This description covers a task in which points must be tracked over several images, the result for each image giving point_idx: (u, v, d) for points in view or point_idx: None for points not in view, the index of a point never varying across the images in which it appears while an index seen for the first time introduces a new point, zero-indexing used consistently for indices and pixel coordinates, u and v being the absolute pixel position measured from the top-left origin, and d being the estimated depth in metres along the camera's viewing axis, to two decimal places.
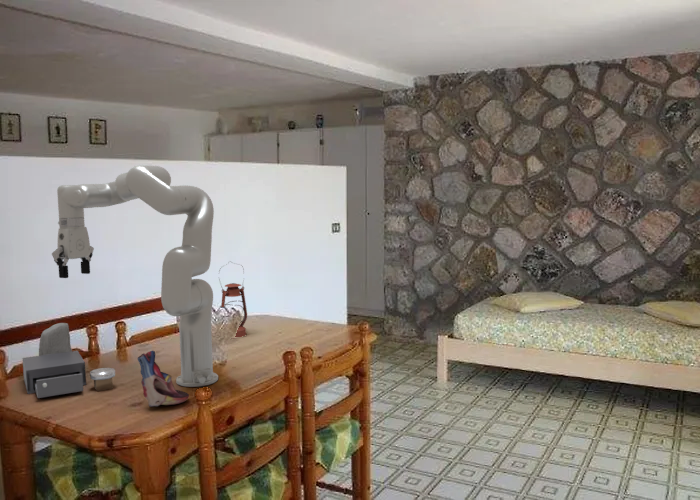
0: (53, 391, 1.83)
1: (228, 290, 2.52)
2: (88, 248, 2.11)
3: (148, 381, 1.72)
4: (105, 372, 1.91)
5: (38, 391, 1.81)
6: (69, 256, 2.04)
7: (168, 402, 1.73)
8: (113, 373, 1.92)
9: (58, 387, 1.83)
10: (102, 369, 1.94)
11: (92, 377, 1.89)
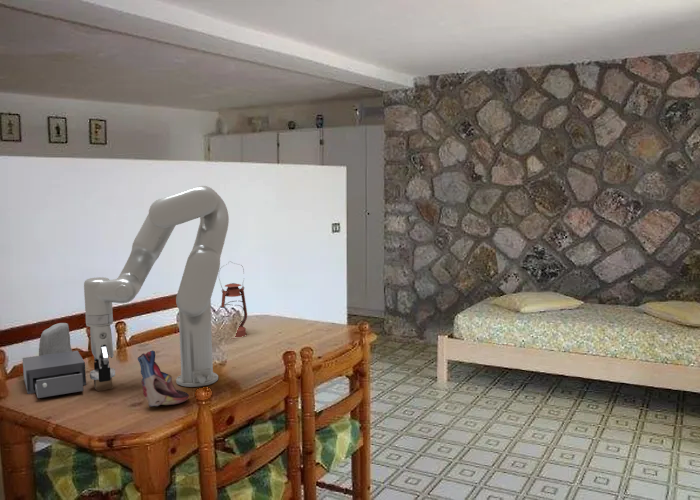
0: (53, 391, 1.83)
1: (228, 290, 2.52)
2: None
3: (148, 381, 1.72)
4: None
5: (38, 391, 1.81)
6: (113, 355, 1.89)
7: (168, 402, 1.73)
8: (113, 373, 1.92)
9: (58, 387, 1.83)
10: None
11: (92, 377, 1.89)
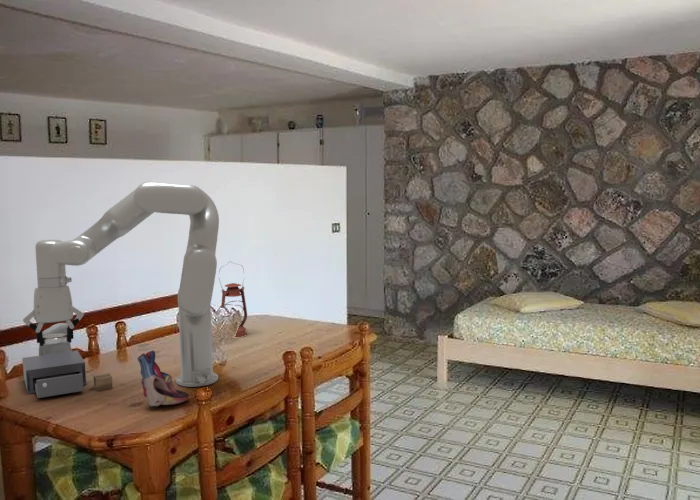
0: (53, 391, 1.83)
1: (228, 290, 2.52)
2: None
3: (148, 381, 1.72)
4: (61, 335, 1.88)
5: (38, 391, 1.81)
6: None
7: (168, 402, 1.73)
8: None
9: (58, 387, 1.83)
10: (47, 336, 1.86)
11: (62, 341, 1.85)
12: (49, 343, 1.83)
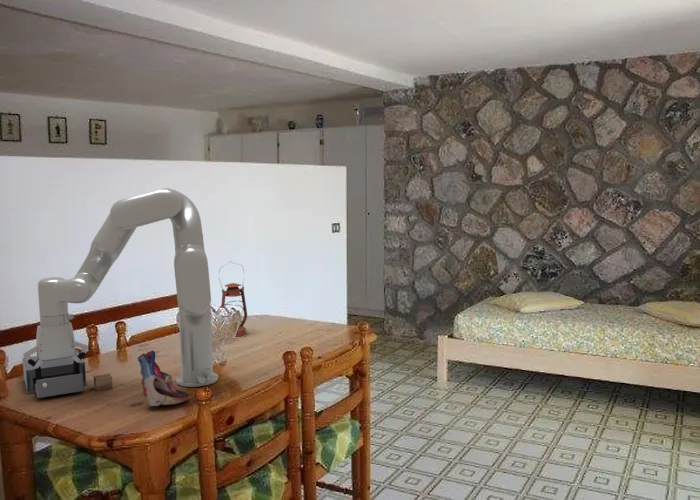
0: (53, 391, 1.83)
1: (228, 290, 2.52)
2: None
3: (148, 381, 1.72)
4: None
5: (38, 391, 1.81)
6: None
7: (168, 402, 1.73)
8: None
9: (58, 387, 1.83)
10: None
11: None
12: None
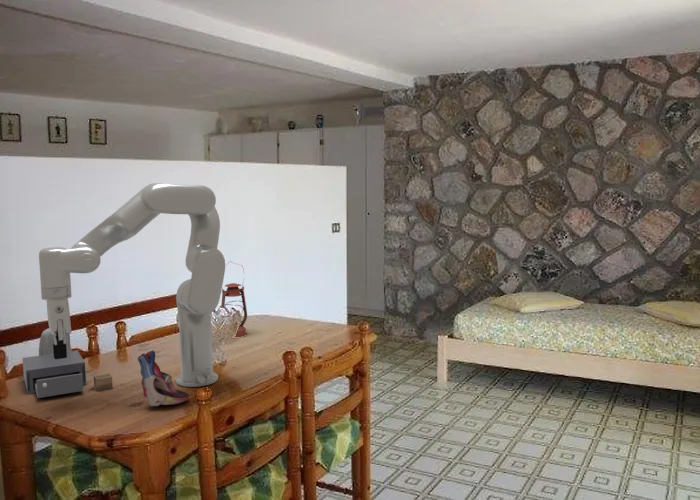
0: (53, 391, 1.83)
1: (228, 290, 2.52)
2: None
3: (148, 381, 1.72)
4: None
5: (38, 391, 1.81)
6: (70, 331, 1.74)
7: (168, 402, 1.73)
8: None
9: (58, 387, 1.83)
10: None
11: None
12: None
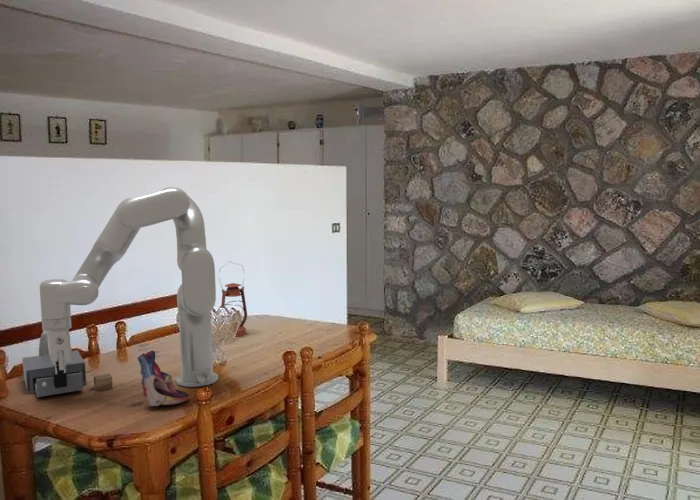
0: (53, 390, 1.84)
1: (228, 290, 2.52)
2: None
3: (148, 381, 1.72)
4: None
5: (38, 390, 1.82)
6: (70, 361, 1.79)
7: (168, 402, 1.73)
8: None
9: None
10: None
11: None
12: None
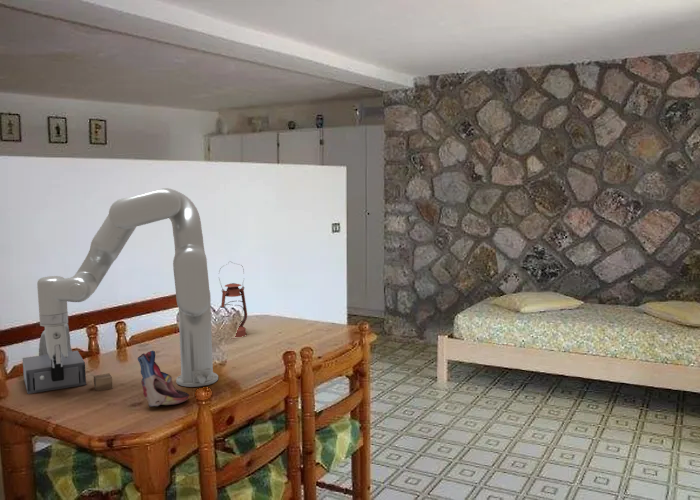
0: (50, 383, 1.90)
1: (228, 290, 2.52)
2: None
3: (148, 381, 1.72)
4: None
5: (36, 383, 1.88)
6: (67, 355, 1.85)
7: (168, 402, 1.73)
8: None
9: None
10: None
11: None
12: None
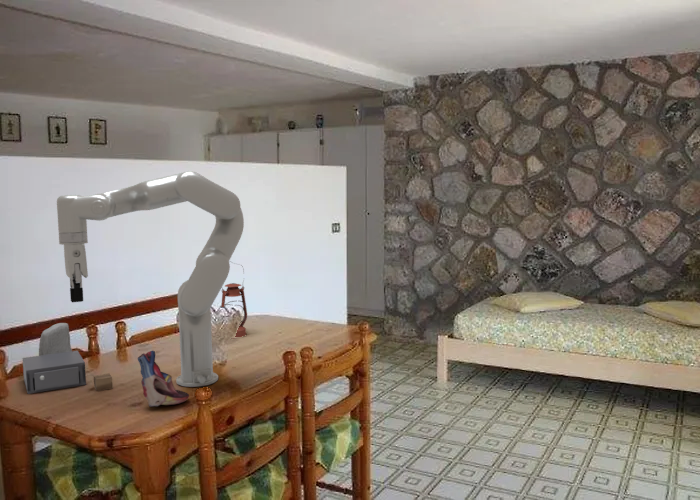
0: (50, 384, 1.90)
1: (228, 290, 2.52)
2: None
3: (148, 381, 1.72)
4: None
5: (36, 383, 1.88)
6: (87, 274, 1.82)
7: (168, 402, 1.73)
8: None
9: (55, 379, 1.90)
10: None
11: None
12: None
